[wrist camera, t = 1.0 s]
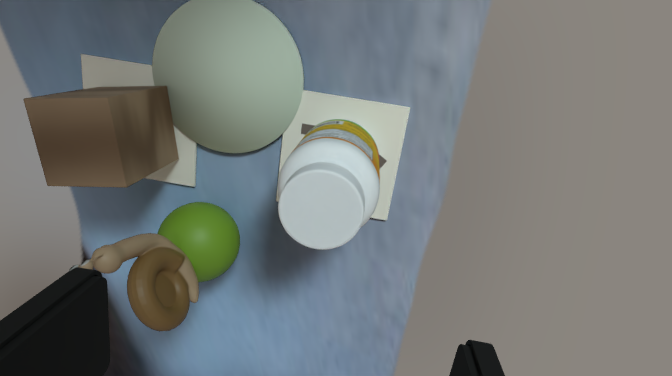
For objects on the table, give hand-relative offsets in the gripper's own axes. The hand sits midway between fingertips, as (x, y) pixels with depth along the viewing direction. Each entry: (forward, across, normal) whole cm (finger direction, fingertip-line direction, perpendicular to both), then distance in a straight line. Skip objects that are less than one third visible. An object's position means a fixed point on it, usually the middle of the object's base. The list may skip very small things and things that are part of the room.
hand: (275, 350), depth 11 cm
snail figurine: (+19, +9, +6) cm, 22 cm away
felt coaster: (+18, +8, -5) cm, 21 cm away
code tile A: (+19, 0, -1) cm, 19 cm away
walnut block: (+18, +14, -1) cm, 23 cm away
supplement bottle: (+19, 0, -1) cm, 19 cm away
